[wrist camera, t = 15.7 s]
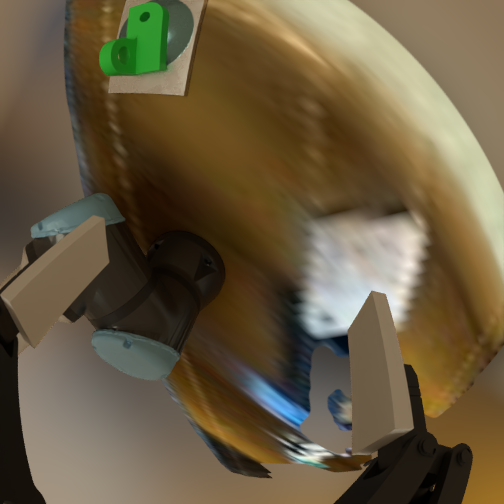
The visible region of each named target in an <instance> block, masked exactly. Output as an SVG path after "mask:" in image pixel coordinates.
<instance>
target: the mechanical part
mask: <svg viewBox="0 0 504 504" xmlns="http://www.w3.org/2000/svg"><path fill="white" fill-rule="evenodd" d="M149 16H150V17H149ZM148 17H149V19H148V20H147V18H148ZM146 20H147V21H146ZM168 26H169V12H168V10H167V9H166V8H165V7H163V6H161V5H159V4H157V3H154V2H148V3H144V4H140V5H137V6H134V7H131V8H129V15H128V25H127V36H126V38H119V39H116V40H113V41H110V42H107V43H106V44H105V45H104V46H103V47H102V49H101V52H100V56H99V62H100V66H101V69H102V70H103V72H104V73H105V74H106V75H108V76H135V75H141V74H147V73H153V72H160V71H166V58H167V39H168ZM118 56H119V59H118Z"/></svg>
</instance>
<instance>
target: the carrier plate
mask: <svg viewBox="0 0 504 504" xmlns="http://www.w3.org/2000/svg"><path fill="white" fill-rule="evenodd" d="M207 1H208V0H126V3H125V7H124V11H123V14H122V18H121V23H120V27H119V31H118V36H117V39H119V38H126V36H127V25H128V15H129V8H131V7H134V6H137V5H140V4H144V3H148V2H154V3H157V4H159V5H161V6H163V7H165V8H166V9H167V10H168V12H169V26H168V39H167V58H166V71H160V72H153V73H147V74H141V75H135V76H110V83H109V92H108V93H152V94H169V95H182V96H187V94H188V88H189V82H190V76H191V71H192V66H193V61H194V56H195V51H196V46H197V42H198V37H199V33H200V29H201V25H202V21H203V17H204V13H205V9H206V5H207ZM149 17H150V16H149ZM149 17H148V18H147V20H148V19H149ZM147 20H146V21H147ZM118 59H119V56H118Z"/></svg>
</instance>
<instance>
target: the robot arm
mask: <svg viewBox="0 0 504 504" xmlns="http://www.w3.org/2000/svg"><path fill="white" fill-rule="evenodd" d="M125 220H126V219H125V217H123V216H122V215H121V213H120V212H119V210H118V208H117V207H116V205H115V203H114V202H113V200H112V199H111V197H110V196H108V195H107V194H104V193H96V194H93V195H90V196H88V197H86V198H84V199H81V200H79V201H77V202H74V203H72V204H70V205H68V206H66V207H65V208H62V209H61V210H59V211H57V212H55V213H53V214H52V215H50V216H48V217H46V218H45V219H43V220H42V221H40V222H39V223H36V224H35V225H33V226H32V227H31V233H32V234H31V236H32V238H34V240H33V241H31V242H30V243H29V244H28V245H26V246H25V247H24V249H23V256H22V263H21V265H20V266H19V267H18V268H17V269H16V270H15V271H14V272H12V274H10V275H9V276H8V277H7V278H6V279H5V280H4V281H3V282H2V283H1V284H0V504H46V502H45V500H44V498H43V496H42V494H41V493H40V492H39V491H38V490H37V488H36V487H35V485H34V483H33V480H32V476H31V472H30V468H29V464H28V460H27V455H26V450H25V444H24V439H23V433H22V425H21V417H20V407H19V393H18V355H19V354H20V353H21V352H22V351H23V350H24V349H25V348H27V347H28V346H29V345H31V346H32V347H33V348H35V347H36V346H37V345H38V344H39V342H40V341H41V340H42V339H43V337H44V336H45V335H46V333H47V332H48V331H49V330H50V328H51V327H52V326H53V325H54V324H55V322H57V321H61V322H66V323H74V322H75V321H76V320H78V319H79V318H80V317H81V316H83V315H85V316H86V317H87V318H88V320H89V321H90V322H91V323H92V325H93V326H94V327H95V329H96V331H94V332H93V334H92V338H91V344H92V345H93V348H94V350H95V352H96V353H97V354H98V355H99V356H100V357H101V358H102V359H103V360H104V361H106V362H107V363H109V364H110V365H111V366H113V367H115V368H116V369H118V370H120V371H122V372H124V373H126V374H128V375H131V376H133V377H136V378H140V379H145V380H161V379H163V378H165V377H167V376H168V375H169V374H170V372H171V371H172V369H173V367H174V365H175V363H176V362H177V361H178V360H179V357H180V355H181V352H182V350H183V348H184V345H185V343H186V341H187V339H188V336H189V334H190V332H191V329H192V327H193V325H194V323H195V320H196V318H197V316H198V314H199V312H200V311H201V310H202V309H203V308H204V307H205V306H207V305H208V304H209V303H210V302H211V301H212V300H214V299H215V298H216V296H217V295H218V294H219V292H220V290H221V288H222V285H223V283H224V280H225V269H224V265H223V262H222V260H221V258H220V256H219V254H218V253H217V252H216V250H215V249H214V248H213V247H212V246H211V245H210V244H209V243H208V242H206V241H205V240H204V239H202V238H200V237H198V236H196V235H194V234H191V233H188V232H183V231H173V232H168V233H165V234H163V235H161V236H160V237H159V238H158V239H157V240H156V241H155V242H154V243H153V244H152V245H151V246H150V248H149V250H148V252H147V254H146V257H145V255H144V254H143V252H142V250H141V249H140V247H139V245H138V244H137V242H136V240H135V239H134V237H133V235H132V233H131V232H130V230H129V228H128V226H127V224H126V223H125ZM348 341H349V354H350V369H351V390H352V455H370V454H372V453H373V452H375V451H377V450H378V457H376V458H374V459H372V460H370V461H368V462H366V463H365V464H364V465H363V466H367V465H369V464H370V465H369V466H368V467H367V468H366V470H365V471H364V472H363V473H362V474H361V475H360V477H359V478H358V479H357V480H356V481H355V482H354V483H353V484H352V485H351V487H350V488H349V489H348V490H347V491H346V492H345V493H344V494H343V495H342V496H341V497H340V498H339V499H338V500H337V501H336V502H335V503H334V504H461V503H462V500H463V497H464V493H465V490H466V486H467V483H468V479H469V474H470V470H471V465H472V459H473V455H472V451H471V449H470V447H469V446H468V445H467V444H464V443H461V444H458V445H456V446H455V447H453V448H450V447H446V446H443V445H439V444H438V443H437V440H436V438H435V437H434V436H433V435H432V434H430V433H429V432H427V429H426V423H425V417H424V410H423V404H422V398H420V396H421V393H420V389H419V383H418V378H417V375H416V373H415V371H414V369H413V368H412V366H411V365H407V364H403V360H402V355H401V351H400V346H399V342H398V338H397V334H396V330H395V326H394V322H393V318H392V315H391V311H390V307H389V304H388V300H387V297H386V294H383V293H379V292H375V291H371V293H370V294H369V296H368V298H367V300H366V301H365V303H364V305H363V306H362V308H361V310H360V311H359V313H358V315H357V316H356V318H355V320H354V321H353V323H352V324H351V326H350V328H349V329H348ZM434 485H435V488H434V490H433V487H434Z"/></svg>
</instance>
